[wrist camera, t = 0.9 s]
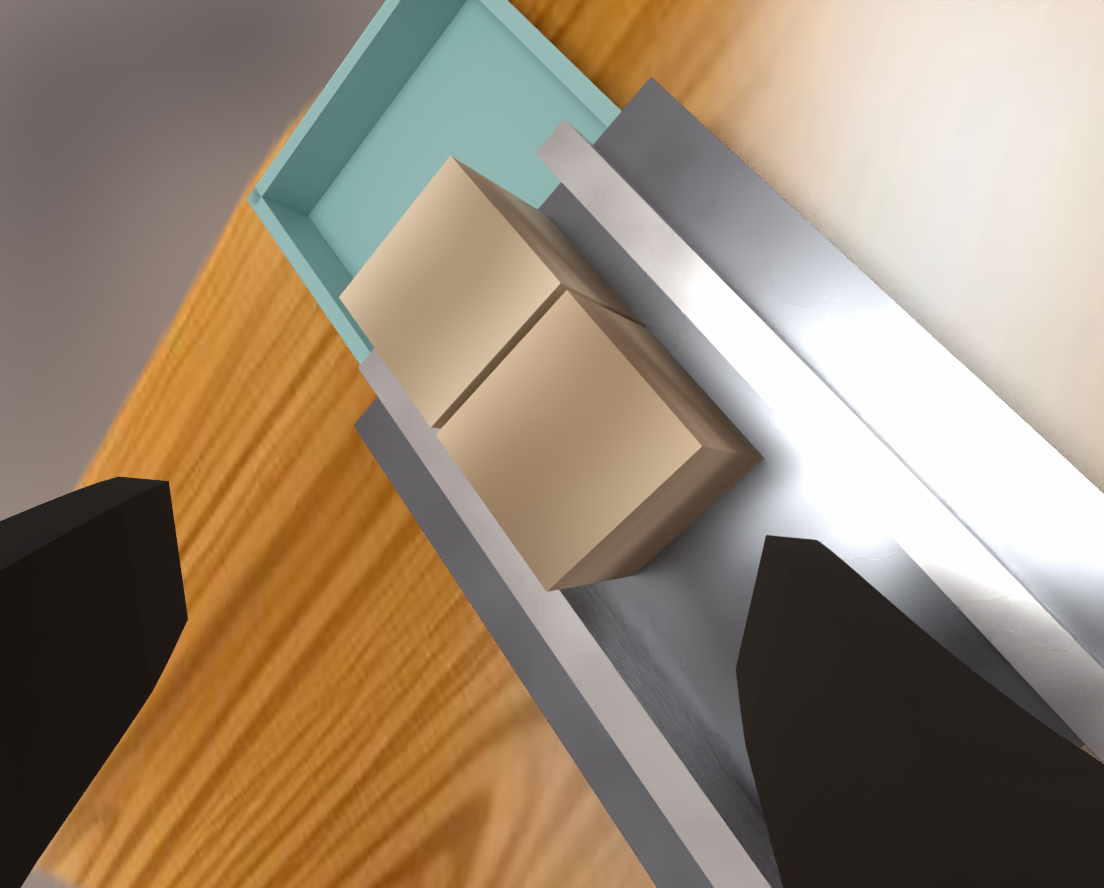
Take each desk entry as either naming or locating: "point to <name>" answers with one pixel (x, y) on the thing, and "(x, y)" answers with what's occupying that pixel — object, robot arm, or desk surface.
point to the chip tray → (417, 133)
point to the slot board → (765, 496)
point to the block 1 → (465, 287)
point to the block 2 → (594, 446)
